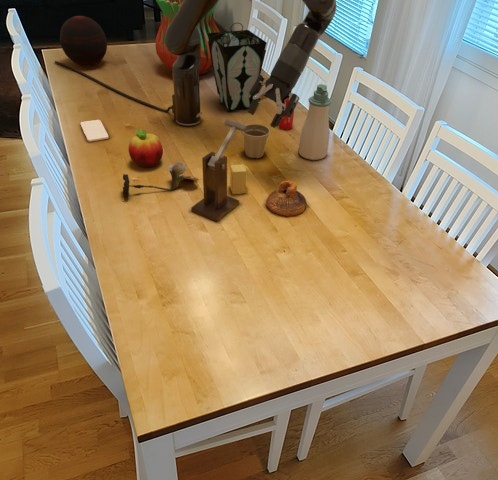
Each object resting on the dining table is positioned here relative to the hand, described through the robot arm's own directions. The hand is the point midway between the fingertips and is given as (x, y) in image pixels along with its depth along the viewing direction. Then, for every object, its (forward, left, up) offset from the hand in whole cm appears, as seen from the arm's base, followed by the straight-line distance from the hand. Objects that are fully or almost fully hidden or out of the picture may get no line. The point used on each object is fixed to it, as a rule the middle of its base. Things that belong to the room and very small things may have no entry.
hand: (261, 120), depth 131 cm
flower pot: (-10, +13, -19) cm, 25 cm away
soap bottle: (+6, +25, -19) cm, 32 cm away
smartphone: (-65, -7, -19) cm, 68 cm away
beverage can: (-12, +38, -19) cm, 44 cm away
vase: (-77, +64, -19) cm, 102 cm away
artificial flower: (-21, -22, -19) cm, 36 cm away
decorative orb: (-118, +40, -19) cm, 127 cm away
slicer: (-2, -21, -19) cm, 28 cm away
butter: (-2, -9, -19) cm, 21 cm away
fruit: (-35, -13, -19) cm, 42 cm away
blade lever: (-2, -15, -3) cm, 16 cm away
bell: (+14, -8, -19) cm, 25 cm away
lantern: (-38, +43, -19) cm, 61 cm away
